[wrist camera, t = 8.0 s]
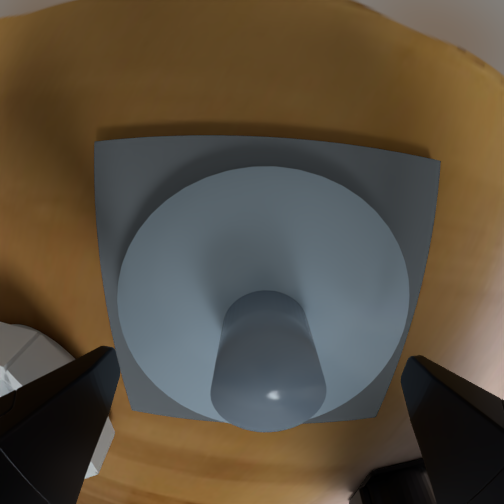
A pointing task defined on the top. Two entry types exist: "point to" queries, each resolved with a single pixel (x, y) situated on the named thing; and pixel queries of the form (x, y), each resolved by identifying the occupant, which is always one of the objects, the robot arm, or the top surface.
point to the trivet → (240, 156)
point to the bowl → (39, 372)
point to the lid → (263, 296)
